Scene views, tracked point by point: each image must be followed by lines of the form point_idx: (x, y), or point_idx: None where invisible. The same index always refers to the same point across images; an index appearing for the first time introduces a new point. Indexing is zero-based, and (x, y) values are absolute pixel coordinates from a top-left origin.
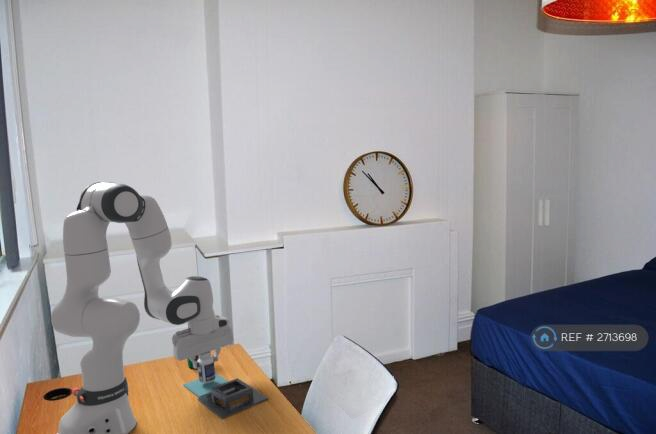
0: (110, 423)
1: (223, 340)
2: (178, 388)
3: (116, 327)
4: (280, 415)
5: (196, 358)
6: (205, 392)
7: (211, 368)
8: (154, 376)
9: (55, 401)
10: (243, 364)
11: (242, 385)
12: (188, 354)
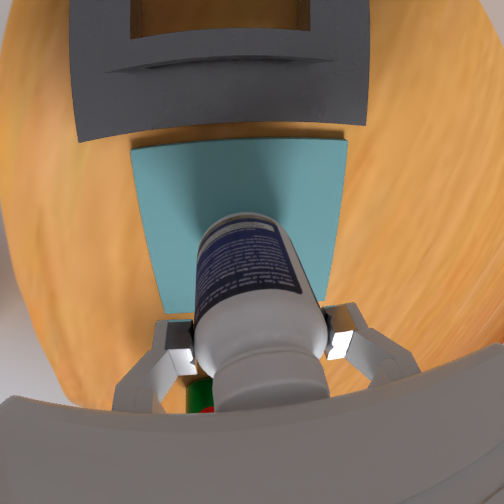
0: None
1: (60, 465)
2: (346, 287)
3: None
4: None
5: (211, 407)
6: (301, 157)
7: (238, 264)
8: (335, 382)
9: None
10: (47, 309)
11: None
12: (472, 384)
